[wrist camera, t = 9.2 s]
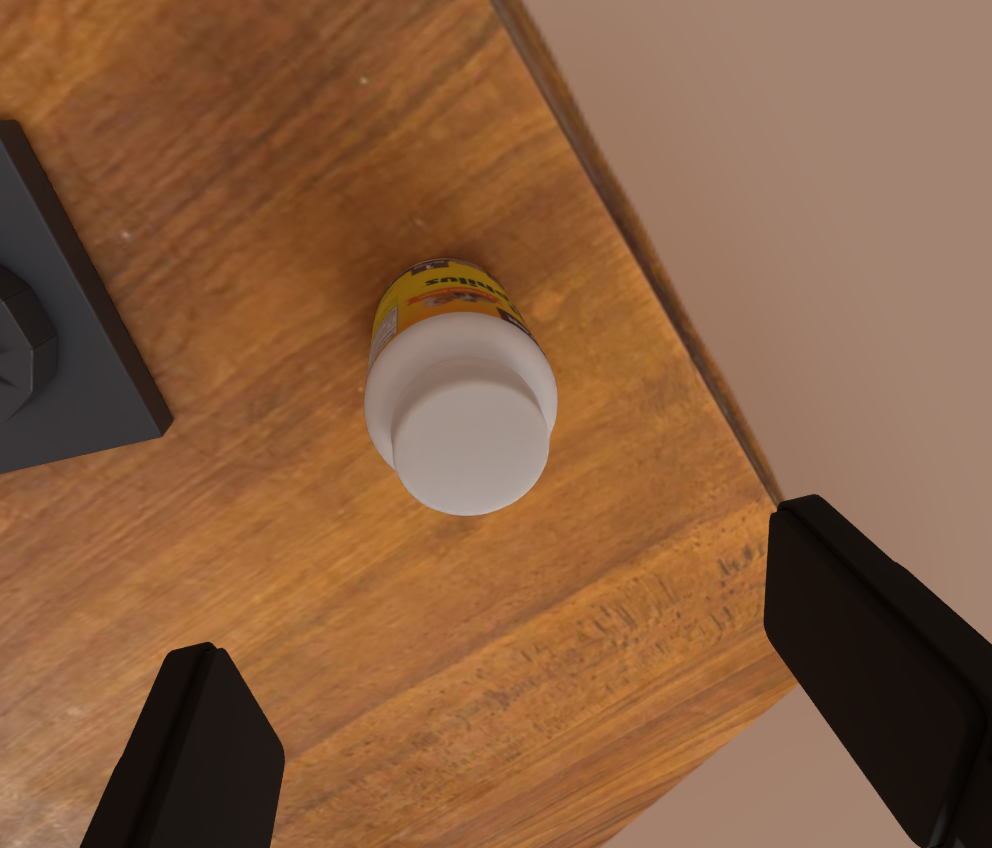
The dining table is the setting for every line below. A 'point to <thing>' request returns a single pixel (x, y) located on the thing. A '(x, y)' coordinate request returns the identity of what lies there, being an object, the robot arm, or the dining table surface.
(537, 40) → the dining table surface
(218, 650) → the robot arm
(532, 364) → the supplement bottle
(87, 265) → the block
